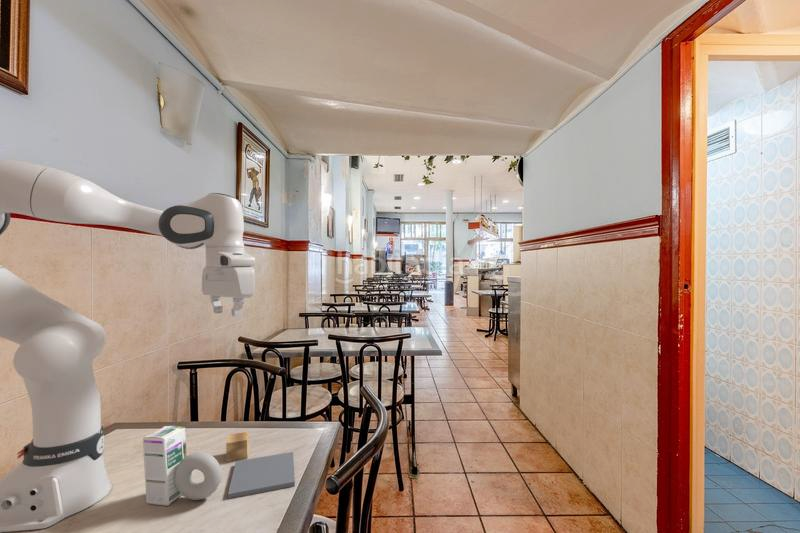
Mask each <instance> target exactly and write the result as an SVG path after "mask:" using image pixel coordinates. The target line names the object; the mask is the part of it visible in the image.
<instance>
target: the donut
mask: <svg viewBox="0 0 800 533" xmlns="http://www.w3.org/2000/svg"><path fill="white" fill-rule="evenodd" d="M194 470H196V471H197V470H198V471H200V472H201V473H202V474H203V477H204V480H203V481H201V482H200V481H197V480H196V479H195V478H194V476H193V471H194ZM222 476H223V475H222V468H221V465H220V463H219V462H218V460H217V459H216V458H215V457H214V456H213V455H211V454H209V453H208V452H202V451H200V452H199V451H197V452H192V453H189V454H187V456H186V457H185V458H184V459H183V460H182V461H181V462H180V463H179V464H178V466H177V468H176V470H175V476H174V480H175V485H176V487H177V489H178V491H179V492H180V493H181V494H182V495H181V496H182V497H184V498H186V499H188V500H193V501H199V500H205V499H206V498H208V497H210V496H212V494H214V493H215V492H216V491H217V490H218V487H219V485H220V483H221V480H222Z"/></svg>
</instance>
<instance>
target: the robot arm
mask: <svg viewBox="0 0 800 533" xmlns="http://www.w3.org/2000/svg"><path fill="white" fill-rule="evenodd" d="M11 214H18V215H23V216H26V217H27V216H29V217H31V218H36V219H41V220H46V221H51V222H52V221H53V222H57V223H58V222H60V223H68V224H79V225H80V224H81V225H83V224H84V225H103V226H113V227H114V226H115V227H121V228H126V229H131V230H136V231H139V232H145V233H148V234H152V235H156V236H160V237H163V238H165V239H166V240H167V241H168V242H170V243H171V244H174V245H176V246H177V247H180V248H182V249H185V250H196V249H198V248H201V247H202V246H205V266H204V268H203V269H202V274H201V291H202V295H203V296H210V298H209V300H210V302H211V304H212V305H211V306H212V310H213V311H212V312H213V314H222V313H223V311H224V310H223V309H224V308H223V307H224V306H223V305H222V303H221V300H222V297H224V298H232V303H233V305H232V306H233V307H232V308H231V316H232V317H241V316H242V315H243V314H242V309H243V306H244V304H245V299H247V298H252V297H253V296H254V294H255V289H256V288H255V287H256V282H255V279H256V277H255V276H256V273H255V269H254V268H253V267H254V266H255V265H256V259H255V257H254V256H253V255H250V254H249V253H247V252H246V251H245V248H246V247H245V244H244V240H243V237H244V232H245V220H244V212H243V207H242V204H241V202H240V201H239V199H237V198H236V197H234V196H231V195H229V194H225V193H220V192H219V193H218V192H210V193H208V194H206V195H204V196H203V197H201V198H198V199H197V200H194V201H191V202H187V203H184V204H176V205H174V206H170V207H168V208H166V209H165V210H162V209H161V210H160V209H157V208H154V207H149V206H146V205H141V204H138V203H135V202H131V201H128V200H126V199H123V198H121V197H119V196H117V195H115V194H113V193H111V192H110V191H108V190H106V189H105V188H103V187H101V186H99V185H98V184H96V183H94V182H93V181H91V180H88V179H86V178H84V177H82V176H79V175H76V174H73V173H72V172H68V171H66V170H62V169H58V168H55V167H51V166H47V165H43V164H39V163H34V162H29V161H23V160H17V159H9V158H2V157H1V158H0V236H1V235H2V234H3V233H4V232H5V231H7V229H8V227H9V225H10V222H11ZM0 338H2V339H5V340H7V341H9V342H10V341H11V342H12V343H16V344H17V345H19V346H18V348H17V349H16V351H15V352H14V356H13V362H12V363H13V367H14V369H15V372H16V373H17V374H18V375H19V376H20V377H21V378H22V380H23V383H24V385H25V389H26V391H27V395H28V398H29V401H30V406H31V414H32V415H31V416H32V417H31V418H32V419H31V420H32V439H31V442H29V443H27V444H25V445H24V446H23V448H22V449H21V450H20V451H19V452H17V453H16V455H18V456H17V457H16V459H20V458H22V457H23V459H22V462H20V463H19V464H17V465H16V466H15V467H14V468H13V469H11V470H10V471H8V473H6V474H5V475H4V476H3V477H1V478H0V533H9V532H18V531H29V530H30V531H32V530H41V529H46V528H49V527H51V526H54V525H55V524H57V523H59V522H61V521H62V520H63V519H66V518H68V517H70V516H73V515H74V514H76V513H79V512H81V511H83V510H85V509H87V508H89V507H91V506H93V505H95V504H96V503H98V502H99V501H100V500H102V499H104V497H106V496H107V495H109V493H110V492H111V490H112V487H113V484H112V482H111V480H110V477H109V475H108V471H107V468H106V463H105V458H104V452H105V445H106V444H105V442H106V441H105V432H104V429H105V428H104V426H102V409H101V408H102V407H101V403H102V402H101V399H102V398H101V392H100V390H99V389H98V385H97V382H96V379H95V374H94V368H93V365H94V364H93V363H94V360H95V359H96V358H97V357H98V356H99V355H100V354H101V353H102V352H103V351H104V349H105V346H106V343H107V342H106V340H107V334H106V331H105V328H104V327H103V326H102V325H101V323H99V322H96V321H95V320H94V319H93V320H92V319H90V318H88V317H86V316H85V315H83V314H81V313H79V312H78V311H76V310H74V309H72V308H71V307H68V306H67V305H65V304H63V303H61V302H59V301H57V300H55V299H54V298H51V297H49V296H48V295H46V294H43V293H42V292H40V291H39V290H38V289H36V288H35V287H33V286H32V285H31V284H29V283H28V282H27V281H25V280H23V279H22V278H21V277H19V276H17V275H16V274H15V273H13V272H12V271H10V270H9V269H7V268H6V267H5V266H3V265H1V264H0Z"/></svg>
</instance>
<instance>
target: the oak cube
mask: <svg viewBox="0 0 800 533" xmlns="http://www.w3.org/2000/svg"><path fill="white" fill-rule="evenodd" d="M249 434H250V433H249V431H246V432H238V433H237V432H236V433H229V434H228V436H227V440H226V443H225V446H226V447H225V449H226V450H225V451H226V453H225V454H226V456H225V457H226V462H227V461H230V462H233V461H232V460H236V461H241V460H247V459H249V458H248V457H249V454H250V453H249V452H250V438H249V437H250V435H249Z"/></svg>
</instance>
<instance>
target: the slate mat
mask: <svg viewBox="0 0 800 533" xmlns="http://www.w3.org/2000/svg"><path fill="white" fill-rule="evenodd" d="M294 461H295V460H294V451H291V452H283V453H277V454H272V455H271V454H270V455H266V456H260V457H254V458H253V457H252V458H247V459H242V460H236V461H235V464H234V467H233V471H232V476H231V480H230V485H229V488H228V493H227V499H234V498H239V497H243V496H244V497H245V496H248V495H249V496H250V495H254V494H259V493H261V494H262V493H265V492H270V491H276V490H281V489H286V488H291V487H295V485H296V482H295V480H296V479H295V465H294V464H295V463H294Z"/></svg>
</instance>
